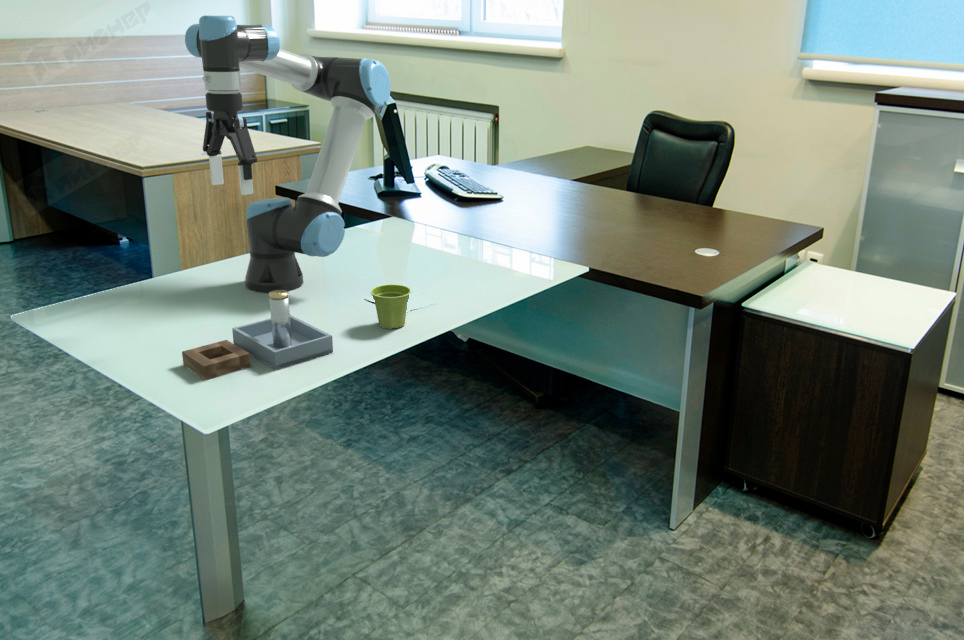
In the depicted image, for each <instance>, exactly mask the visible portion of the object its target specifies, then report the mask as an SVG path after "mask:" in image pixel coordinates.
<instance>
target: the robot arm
mask: <svg viewBox="0 0 964 640" xmlns="http://www.w3.org/2000/svg"><path fill="white" fill-rule="evenodd" d="M184 43H185V47H186V49H187V51H188V52H189V53H190V54H191V55H192V56H193V57H195V58H200V59H201V63H202V70H203V76H202V80H203V81H204V89H205V91H207V92H206V93H205V94H204V95H205V104H206V109H207V111H206V112H205V120H206V121H205V129H204V137H203V143H202V151H203V153H205V152H206V155H207V156H208V161H209V162H208V163H209V173H210V182H211V185H212V186H218V185H219V186H220V185H224V184H225V180H224V169H223V158H222V153H223V152H222V151H221V149H222V147H223V143H224V140H225V137H226V139H227V140H229V141H230V144H231V145H232V148H233V150H234V152H235V154H236V157H237V159H238V163H237V167H238V178H239V190H240V195H242V196H247V195H253V194H254V183H253V182H254V181H253V171H252V168H253V167H252V165H253V164H254V163H257V162H258V158H257V154H256V151H255V147H254V145H253V142H252V138H251V135H250V132H249V129H248V122H247V117H245V116H241V117H240V116H238V111H242V110H243V107H244V106H243V105H244V104H243V94H242V93H241V92H240V91H241V90H242V81H241V78H242V77H241V69H243V70H247V71H249V72H252V73H256V74H259V75H262V76H265V77H269V78H271V79H275V80H277V81H281V82H283V83H287V84H290V85H291V86H292V88H293V89H295V90H296V91H299V92H302V93H305V94H308V95H310V96H312V97H313V96H314V97H316V98H319V99H321V100H325V101H327V102H330V103H331V106H332V108H333V111H332V114H331V117H330V119H329V123H328V126H327V129H326V131H325V132H326V133H325V135H324V138H323V140H322V144H321V147H320V150H319V152H318V155H317V158H316V162H315V163H314V164H315V165H314V169H313V170H312V174H311V177H310V180H309V182H308V186H307V188H306V192H305V193H303V194H299V196H297V200H296V202H295V205H294V206H293V202H292V200H291V198H290V197H273V198H264V199H260V200H259V199H258V200H255V201H252V202H250V203H249V204H248V205H247V206H246V217H245V218H246V229H247V235H248V245H249V247H248V248H249V256H250V257H249V261H248V266H247V270H246V274H245V277H244V278H245V279H244V280H245V287H246V288H247V289H248V290H251V291H252V292H253V291H254V292H257V293H258V292H259V293H270V292H271V291H274V290H286V291H288V292H289V291H291V290H296V289H297V288H299V287H301V286H303V284H304V274H303V272H302V270H301V267H300V265H299V262H298V260H297V258H296V254H301V255H306V256H309V257H320V258H324V257H329V256H330V255H332V254H334V253H335V252H336V251H338V249H339V248H340V246H341V244H342V242H343V241H344V237H345V232H346V229H345V228H344V227H345V221H344V219H343V217H342V213H343V211H342V208H341V207H340V205H339V202H340V199H341V196H342V193H343V190H344V187H345V184H346V182H347V178H348V175H349V173H350V172H349V171H350V169H351V165H352V164H353V163H352V162H353V159H354V157H355V154H356V151H357V148H358V144H359V141H360V138H361V135H362V132H363V129H364V126H365V123H366V121H367V120H370V119H372V118H373V117H374V115H375V112H376V109H377V108H379V107H383V106H384V105H386V104H387V103H388V101H389V98H390V95H391V88H392V86H391V80H390V75H389V73H388V70H387V68H386V67H385V65H384V64H383V63H382V62H380V61H379V60H377V59H369V58H367V57H363V58H354V57H353V58H352V57H351V58H350V57H336V56H315V55H311V54H309V53H300V54H297V53H294V52H292V51H288V50H285V49H283V48H281V41H280V37H279V33H278V32H277V31H276V30H275V28H273V27H271V26H270V25H263V24H237V23H236V18H235V16H232V15H209V14H208V15H207V14H205V15H202V16H200V17H199V20H198V23H193V24H192V25H190V26H189V27H188V28H187V29H186V31H185V35H184ZM240 68H241V69H240Z"/></svg>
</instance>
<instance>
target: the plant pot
mask: <svg viewBox="0 0 964 640" xmlns="http://www.w3.org/2000/svg"><path fill="white" fill-rule="evenodd" d="M410 293H412V289H411V288H410V287H408V286H406V285H403V284H392V283H391V284H382V285H379V286H374V287H373V288H372V289H371V290H370V294H371V296H373V299H374V300H375V303H374V305H375V309H376V315H377V316H376V317H377V320H378V321H377V322H378V325H379V326H380V328H382V327H384V328H383V329H385V328H393V329H398V328H397V327H401V326H403V325H404V324H406V319H407V318H406V316H407V313H406V310H407V302H408V299H409V294H410ZM404 326H405V325H404ZM404 326H403V327H404ZM401 328H402V327H401Z"/></svg>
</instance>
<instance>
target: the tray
mask: <svg viewBox="0 0 964 640" xmlns="http://www.w3.org/2000/svg"><path fill="white" fill-rule="evenodd" d="M290 324H291V337H292V345H291V346H289V347H286V348H276V347H274V346H273V336H272V324H271V317H270V318H267V319H263V320H258V321H256V322H251V323H247V324H244V325H240V326H236V327H231V329H232V330H231V331H232V340H233V342H232V343H233V344H235V345H236V346H238V347H240V348H241V349H243V350H245V351H246V352H248V353H250V357H253V358H255V359H256V360H258V361H260V362H261V363H263V364H265V365H267V366H268V367H270V368H272V369H274V370H275V371H278V370H281V369H284V368H285V369H286V368H288V367H291V366H294V365H297V364H300V363H305V362H308V361H311V360H314V359H317V358H316V357H318V358H321V357H324V356H326V355H325V354H327V355H330V354H329V353H331V354H333V353H334V346H333V344H334V343H333V341H334V340H333V335H332V334H329V333H328V332H325V331H324V330H322V329H321V328H318V327H315V326H314V325H311V324H310V323H308V322H305V321H303V320H301V319H299V318H297V317H296V316H294V315H291V314H290ZM332 352H333V353H332ZM323 355H324V356H323ZM320 356H321V357H320Z"/></svg>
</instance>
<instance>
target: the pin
mask: <svg viewBox="0 0 964 640" xmlns="http://www.w3.org/2000/svg"><path fill="white" fill-rule="evenodd" d="M268 297H269V308H270V309H269V310H270V311H269V312H270V318H271V324H272V336H273V346H274V347H276V348H286V347H289V346H291V345H292V337H291V324H290V315H291V312H290V310H291V309H290V299H289V298H290V297H289V290H288V291H286V290H274V291H271V292H268Z"/></svg>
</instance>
